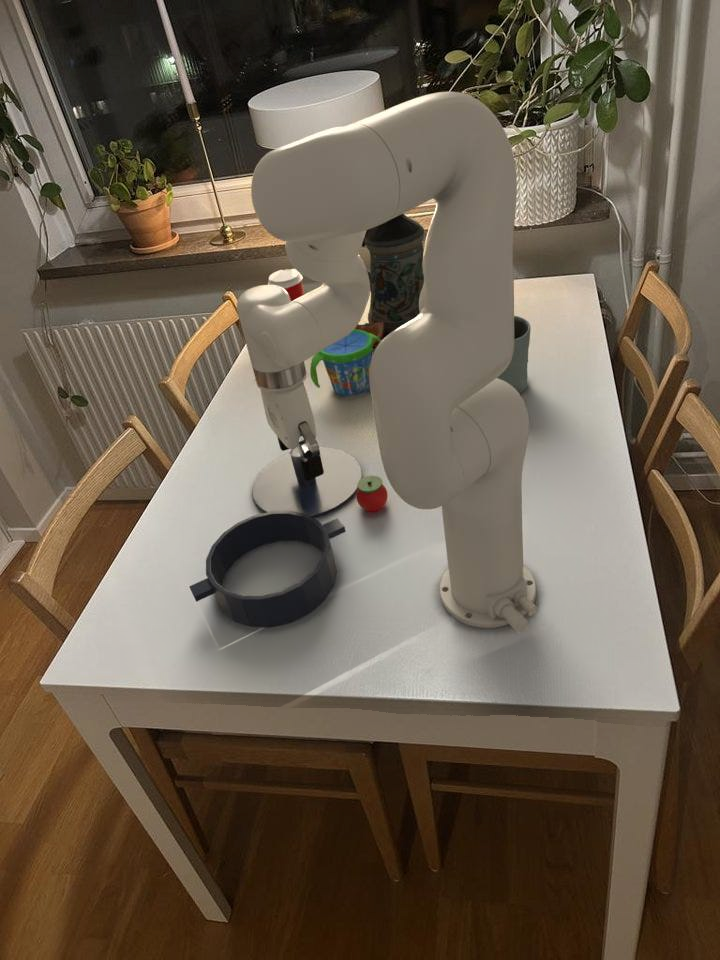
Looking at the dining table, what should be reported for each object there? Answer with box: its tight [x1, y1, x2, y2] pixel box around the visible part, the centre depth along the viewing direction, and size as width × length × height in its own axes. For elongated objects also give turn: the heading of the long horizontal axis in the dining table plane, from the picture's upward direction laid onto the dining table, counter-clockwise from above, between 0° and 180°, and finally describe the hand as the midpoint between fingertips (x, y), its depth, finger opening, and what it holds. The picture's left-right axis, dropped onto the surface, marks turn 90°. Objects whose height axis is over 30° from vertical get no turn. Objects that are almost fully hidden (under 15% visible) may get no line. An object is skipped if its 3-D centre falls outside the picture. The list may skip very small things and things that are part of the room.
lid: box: [251, 445, 363, 519], centre depth 120 cm, size 18×18×7 cm
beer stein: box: [362, 213, 425, 341], centre depth 154 cm, size 16×19×25 cm
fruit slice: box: [354, 322, 385, 347], centre depth 156 cm, size 8×7×5 cm
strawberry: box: [355, 475, 388, 514], centre depth 113 cm, size 5×5×6 cm
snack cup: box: [309, 330, 382, 397], centre depth 141 cm, size 16×11×10 cm
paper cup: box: [267, 268, 305, 301], centre depth 163 cm, size 8×8×14 cm
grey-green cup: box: [497, 315, 532, 395], centre depth 133 cm, size 10×10×12 cm
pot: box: [189, 511, 347, 629], centre depth 104 cm, size 17×23×6 cm
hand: (301, 461), depth 119 cm, fingers open, 9 cm apart
